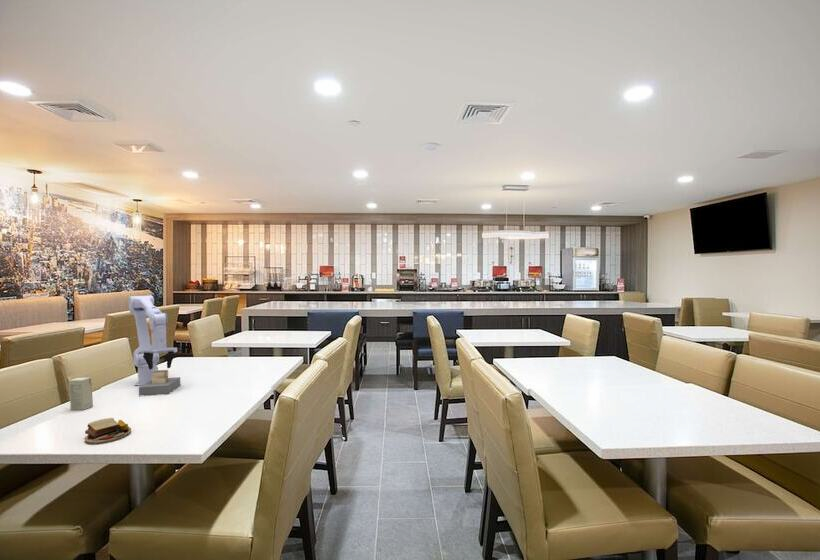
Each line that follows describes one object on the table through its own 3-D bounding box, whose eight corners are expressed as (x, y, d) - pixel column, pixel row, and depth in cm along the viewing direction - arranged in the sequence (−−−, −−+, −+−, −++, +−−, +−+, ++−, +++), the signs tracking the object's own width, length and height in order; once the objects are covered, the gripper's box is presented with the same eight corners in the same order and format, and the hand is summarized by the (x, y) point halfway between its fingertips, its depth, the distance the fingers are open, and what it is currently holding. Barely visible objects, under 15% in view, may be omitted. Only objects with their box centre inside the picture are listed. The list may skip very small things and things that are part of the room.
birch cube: (156, 380, 186) (156, 370, 186) (168, 380, 187) (168, 369, 187) (151, 383, 181) (151, 373, 181) (163, 383, 182) (163, 372, 182)
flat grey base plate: (153, 387, 190) (153, 378, 190) (180, 385, 192) (180, 377, 192) (139, 396, 176) (138, 387, 176) (168, 394, 178) (168, 385, 178)
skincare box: (93, 406, 163) (92, 377, 163) (83, 410, 159) (82, 380, 158) (79, 406, 164) (78, 377, 163) (69, 410, 159) (68, 380, 159)
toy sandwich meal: (89, 449, 124) (88, 434, 124) (80, 437, 133) (79, 423, 133) (136, 435, 133) (135, 422, 133) (124, 426, 142) (124, 413, 142)
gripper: (137, 341, 178) (138, 371, 178) (172, 340, 181) (173, 369, 181) (144, 339, 185) (145, 367, 185) (178, 337, 188) (179, 365, 188)
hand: (160, 368), depth 184 cm, fingers open, 7 cm apart
